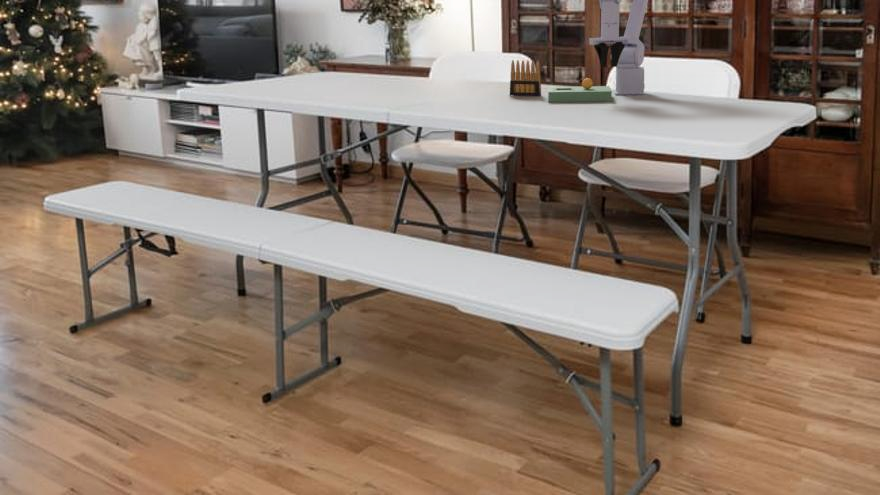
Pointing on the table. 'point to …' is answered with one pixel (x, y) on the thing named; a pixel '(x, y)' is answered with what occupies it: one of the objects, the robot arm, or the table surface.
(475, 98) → the table surface
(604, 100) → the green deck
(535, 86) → the ammunition clip
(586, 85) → the ball
